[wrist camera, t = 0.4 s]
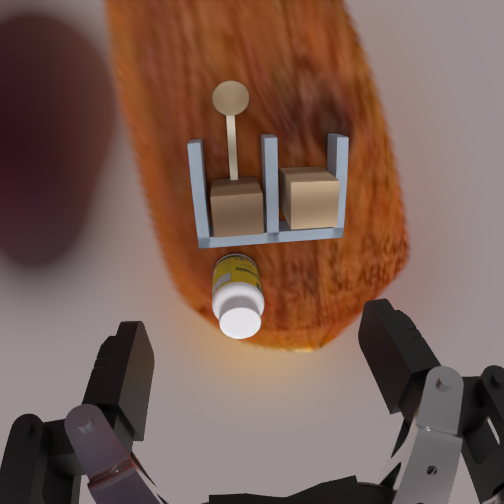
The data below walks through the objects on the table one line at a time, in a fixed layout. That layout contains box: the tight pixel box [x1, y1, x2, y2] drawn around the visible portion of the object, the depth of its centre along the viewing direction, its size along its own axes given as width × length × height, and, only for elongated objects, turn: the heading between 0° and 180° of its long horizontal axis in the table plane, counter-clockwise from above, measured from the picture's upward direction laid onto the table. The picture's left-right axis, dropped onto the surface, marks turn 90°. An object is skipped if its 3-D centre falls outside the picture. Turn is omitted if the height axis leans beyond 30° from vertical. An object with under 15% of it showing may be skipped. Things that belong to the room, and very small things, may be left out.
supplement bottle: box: [212, 253, 264, 339], centre depth 34 cm, size 5×5×10 cm
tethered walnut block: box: [210, 81, 264, 238], centre depth 28 cm, size 14×5×6 cm, turn 2°
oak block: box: [280, 167, 340, 230], centre depth 31 cm, size 5×5×6 cm
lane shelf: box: [187, 134, 348, 249], centre depth 32 cm, size 11×16×3 cm
